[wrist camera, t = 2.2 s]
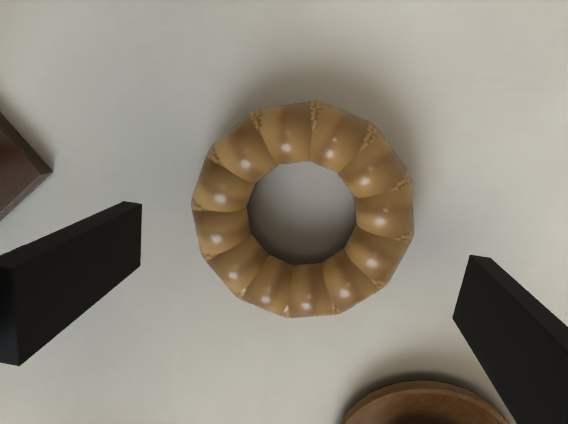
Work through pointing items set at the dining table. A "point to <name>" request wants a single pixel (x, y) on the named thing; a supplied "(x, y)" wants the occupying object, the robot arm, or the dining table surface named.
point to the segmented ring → (327, 153)
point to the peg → (17, 168)
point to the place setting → (423, 406)
